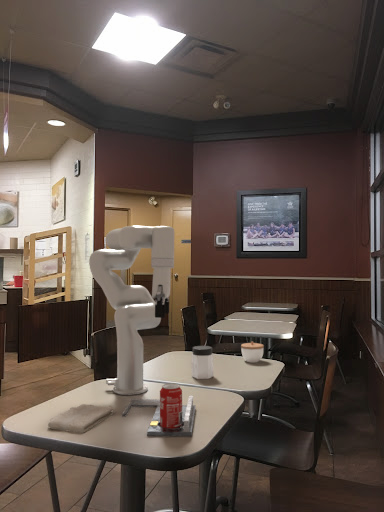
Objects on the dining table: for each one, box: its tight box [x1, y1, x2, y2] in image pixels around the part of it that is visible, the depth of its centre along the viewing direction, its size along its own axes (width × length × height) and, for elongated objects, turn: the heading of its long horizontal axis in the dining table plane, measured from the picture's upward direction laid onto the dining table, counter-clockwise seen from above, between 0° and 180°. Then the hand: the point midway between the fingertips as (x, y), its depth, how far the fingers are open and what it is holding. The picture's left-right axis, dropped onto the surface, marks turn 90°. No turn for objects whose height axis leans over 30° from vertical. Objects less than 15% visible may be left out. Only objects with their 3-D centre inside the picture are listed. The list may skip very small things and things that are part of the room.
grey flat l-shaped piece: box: [121, 398, 160, 418], centre depth 141 cm, size 12×16×1 cm
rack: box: [146, 395, 196, 438], centre depth 130 cm, size 12×23×4 cm, turn 177°
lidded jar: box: [240, 341, 265, 364], centre depth 210 cm, size 11×11×9 cm
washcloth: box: [47, 403, 114, 434], centre depth 131 cm, size 12×18×3 cm, turn 161°
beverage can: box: [159, 382, 183, 429], centre depth 124 cm, size 6×6×12 cm
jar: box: [191, 345, 214, 380], centre depth 182 cm, size 9×8×12 cm
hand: (162, 315), depth 145 cm, fingers open, 9 cm apart
